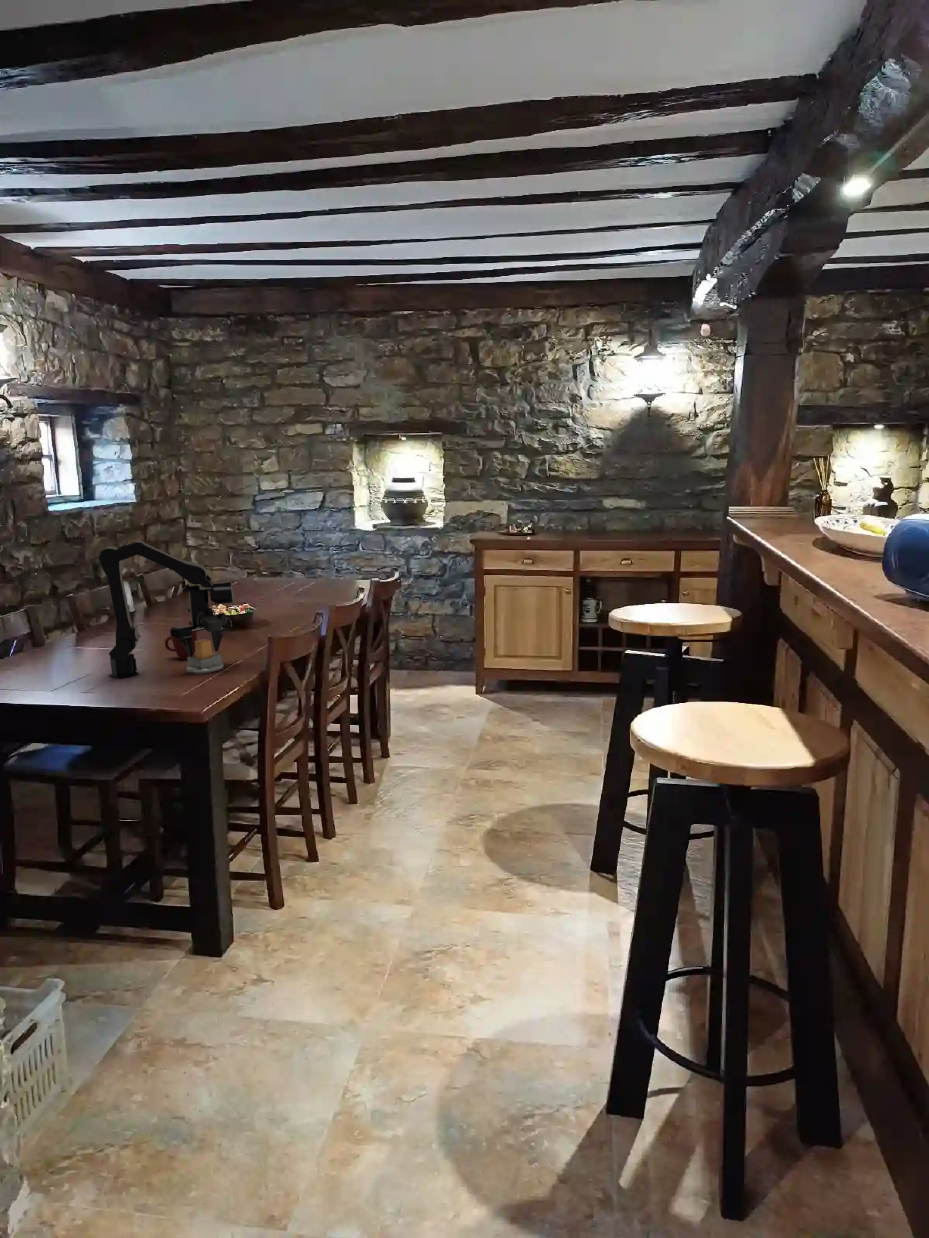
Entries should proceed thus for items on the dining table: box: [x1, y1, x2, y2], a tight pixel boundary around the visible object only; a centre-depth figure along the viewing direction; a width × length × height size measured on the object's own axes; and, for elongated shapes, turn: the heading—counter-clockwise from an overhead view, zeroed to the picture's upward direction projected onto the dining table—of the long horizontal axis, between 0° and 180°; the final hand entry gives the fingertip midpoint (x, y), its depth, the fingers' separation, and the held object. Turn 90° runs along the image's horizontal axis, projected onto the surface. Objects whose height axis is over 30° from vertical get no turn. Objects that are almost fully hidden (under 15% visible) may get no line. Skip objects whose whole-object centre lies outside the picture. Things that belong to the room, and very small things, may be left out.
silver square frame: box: [186, 652, 224, 675], centre depth 278 cm, size 11×11×4 cm
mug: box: [164, 631, 198, 660], centre depth 293 cm, size 11×8×10 cm
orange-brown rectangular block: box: [195, 638, 213, 659], centre depth 277 cm, size 4×4×8 cm
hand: (203, 654), depth 278 cm, fingers open, 9 cm apart
